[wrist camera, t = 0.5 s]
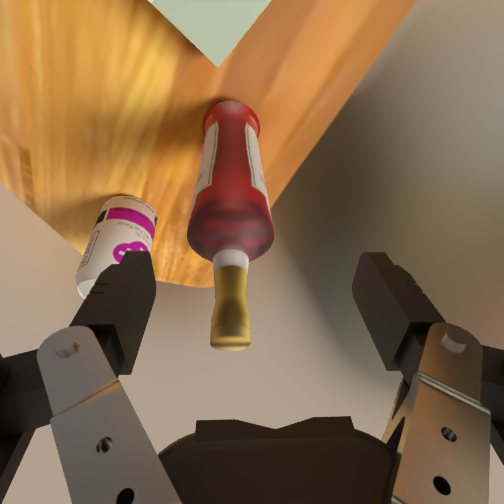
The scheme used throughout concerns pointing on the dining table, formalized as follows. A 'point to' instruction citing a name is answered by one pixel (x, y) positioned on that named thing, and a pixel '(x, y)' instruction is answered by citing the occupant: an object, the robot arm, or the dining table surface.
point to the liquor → (230, 216)
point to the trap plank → (212, 22)
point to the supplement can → (115, 237)
